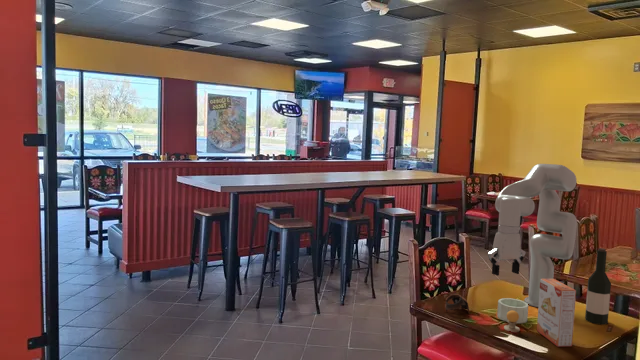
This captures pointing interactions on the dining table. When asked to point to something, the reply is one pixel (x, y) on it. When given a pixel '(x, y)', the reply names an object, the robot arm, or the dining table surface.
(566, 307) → the cracker box
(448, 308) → the pottery mug
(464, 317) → the dining table surface
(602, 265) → the wine bottle
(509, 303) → the pale green bowl
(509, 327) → the ball stand
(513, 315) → the ball
